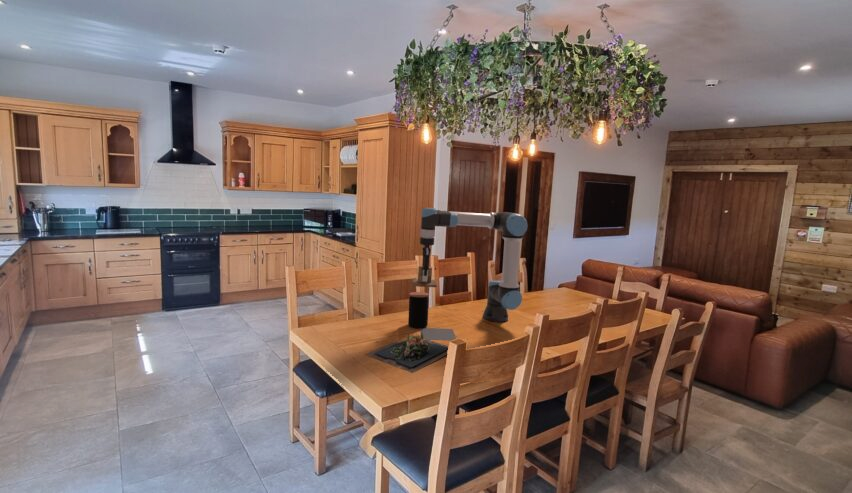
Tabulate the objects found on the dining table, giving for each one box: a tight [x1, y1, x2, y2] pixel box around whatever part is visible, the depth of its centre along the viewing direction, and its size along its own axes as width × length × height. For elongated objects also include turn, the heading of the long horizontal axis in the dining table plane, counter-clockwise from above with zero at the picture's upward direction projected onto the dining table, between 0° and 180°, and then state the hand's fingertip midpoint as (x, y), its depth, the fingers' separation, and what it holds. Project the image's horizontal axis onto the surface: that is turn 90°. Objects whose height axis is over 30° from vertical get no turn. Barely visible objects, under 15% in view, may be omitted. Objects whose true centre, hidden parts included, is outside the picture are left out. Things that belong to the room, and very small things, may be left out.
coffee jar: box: [408, 291, 430, 329], centre depth 242 cm, size 11×11×18 cm
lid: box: [412, 265, 438, 288], centre depth 237 cm, size 12×12×9 cm
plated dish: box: [365, 330, 448, 374], centre depth 206 cm, size 35×28×7 cm
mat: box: [419, 327, 457, 342], centre depth 232 cm, size 18×18×1 cm
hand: (424, 280), depth 237 cm, fingers closed on lid, 3 cm apart
